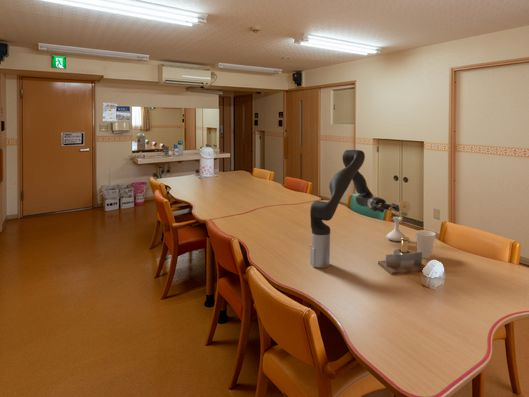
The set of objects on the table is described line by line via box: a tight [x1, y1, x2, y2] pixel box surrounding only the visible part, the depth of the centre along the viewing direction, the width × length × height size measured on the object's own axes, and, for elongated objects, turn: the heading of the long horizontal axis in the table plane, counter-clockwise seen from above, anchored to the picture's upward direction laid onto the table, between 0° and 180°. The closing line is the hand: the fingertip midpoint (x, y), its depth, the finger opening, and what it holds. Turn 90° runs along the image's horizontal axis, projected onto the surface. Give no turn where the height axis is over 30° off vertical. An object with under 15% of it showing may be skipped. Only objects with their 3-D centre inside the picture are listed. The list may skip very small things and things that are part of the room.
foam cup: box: [415, 229, 437, 259], centre depth 195 cm, size 10×9×13 cm
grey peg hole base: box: [377, 260, 426, 276], centre depth 182 cm, size 20×14×2 cm
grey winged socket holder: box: [384, 248, 423, 268], centre depth 181 cm, size 19×7×7 cm, turn 99°
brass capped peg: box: [400, 236, 410, 253], centre depth 180 cm, size 4×4×14 cm
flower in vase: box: [386, 199, 412, 242], centre depth 221 cm, size 13×11×25 cm
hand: (390, 210), depth 191 cm, fingers open, 8 cm apart
